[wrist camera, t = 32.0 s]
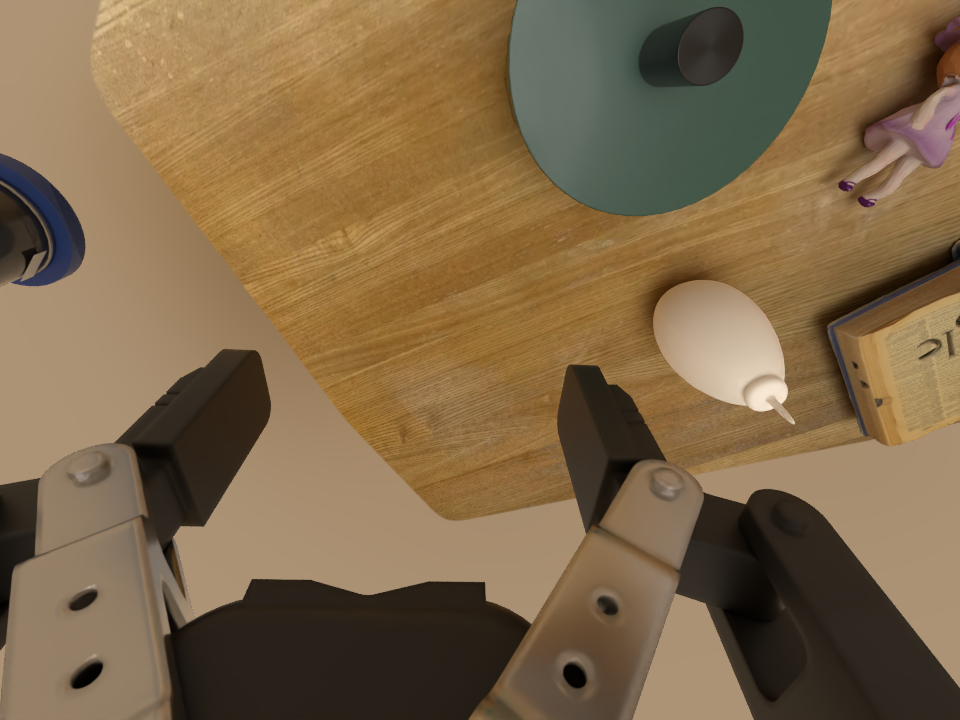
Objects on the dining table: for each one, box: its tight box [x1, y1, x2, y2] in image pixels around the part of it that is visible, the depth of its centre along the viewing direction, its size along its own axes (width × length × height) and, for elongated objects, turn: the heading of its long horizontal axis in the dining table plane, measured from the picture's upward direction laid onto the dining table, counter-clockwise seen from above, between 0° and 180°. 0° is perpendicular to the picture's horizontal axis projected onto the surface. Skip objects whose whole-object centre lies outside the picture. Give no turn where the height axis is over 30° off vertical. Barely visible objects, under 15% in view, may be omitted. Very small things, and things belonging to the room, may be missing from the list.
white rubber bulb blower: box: [653, 280, 795, 424], centre depth 34 cm, size 8×8×18 cm
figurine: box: [839, 16, 960, 207], centre depth 31 cm, size 9×8×15 cm
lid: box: [508, 0, 832, 216], centre depth 20 cm, size 16×16×6 cm
